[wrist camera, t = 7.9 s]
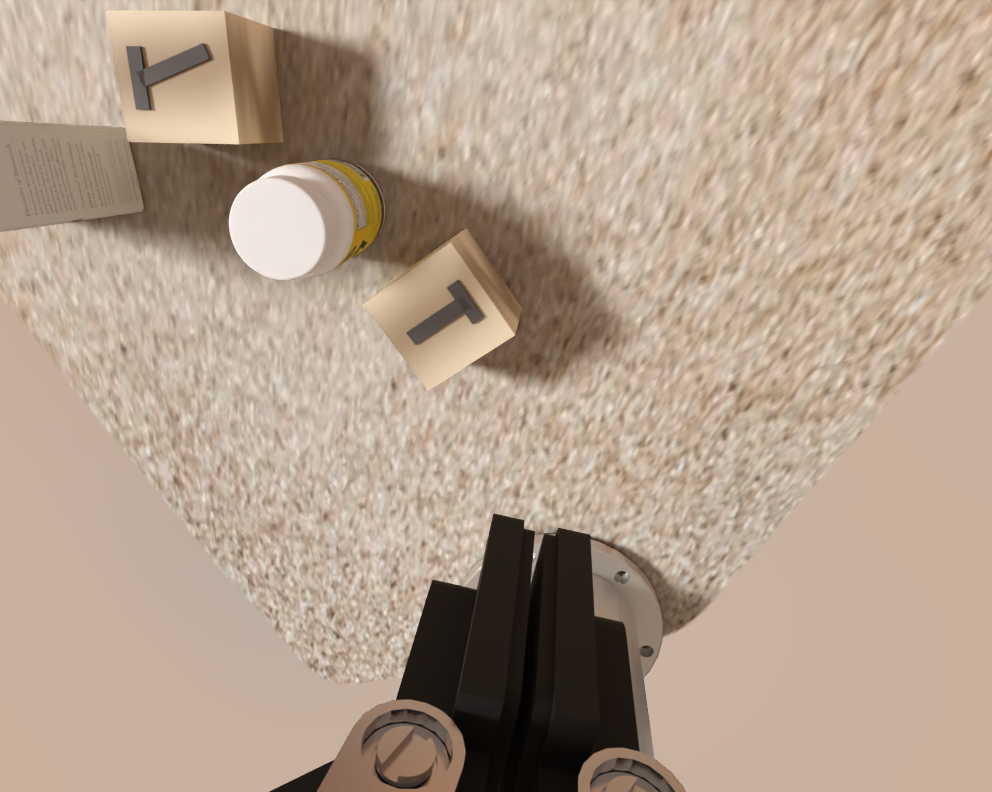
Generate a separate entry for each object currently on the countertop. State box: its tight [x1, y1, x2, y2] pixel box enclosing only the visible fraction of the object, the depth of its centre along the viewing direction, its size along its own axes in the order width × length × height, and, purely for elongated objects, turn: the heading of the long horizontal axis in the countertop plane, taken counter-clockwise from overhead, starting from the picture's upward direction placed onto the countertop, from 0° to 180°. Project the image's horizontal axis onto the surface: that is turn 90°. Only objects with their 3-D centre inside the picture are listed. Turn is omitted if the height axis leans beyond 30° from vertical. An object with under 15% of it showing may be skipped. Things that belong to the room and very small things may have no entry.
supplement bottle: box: [229, 159, 385, 280], centre depth 31 cm, size 5×5×8 cm
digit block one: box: [363, 227, 522, 390], centre depth 33 cm, size 5×5×5 cm
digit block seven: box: [106, 11, 284, 144], centre depth 31 cm, size 5×5×5 cm
